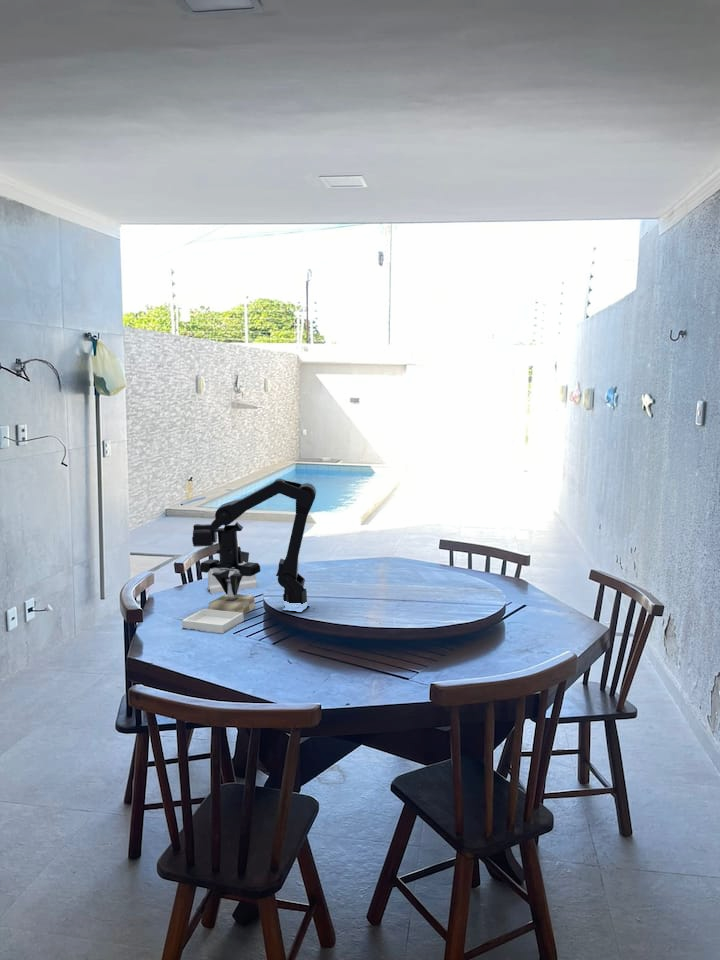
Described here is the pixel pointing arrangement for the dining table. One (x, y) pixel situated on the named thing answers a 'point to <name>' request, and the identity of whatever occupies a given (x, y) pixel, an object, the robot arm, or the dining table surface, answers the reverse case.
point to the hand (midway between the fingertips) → (231, 594)
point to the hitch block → (233, 604)
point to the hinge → (245, 582)
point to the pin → (230, 590)
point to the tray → (213, 620)
